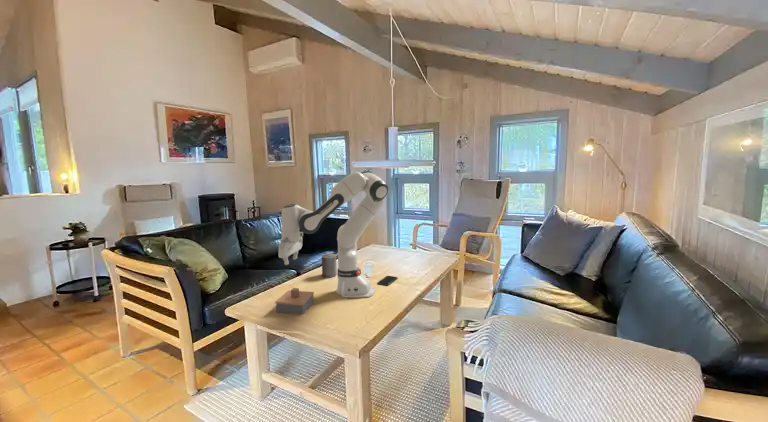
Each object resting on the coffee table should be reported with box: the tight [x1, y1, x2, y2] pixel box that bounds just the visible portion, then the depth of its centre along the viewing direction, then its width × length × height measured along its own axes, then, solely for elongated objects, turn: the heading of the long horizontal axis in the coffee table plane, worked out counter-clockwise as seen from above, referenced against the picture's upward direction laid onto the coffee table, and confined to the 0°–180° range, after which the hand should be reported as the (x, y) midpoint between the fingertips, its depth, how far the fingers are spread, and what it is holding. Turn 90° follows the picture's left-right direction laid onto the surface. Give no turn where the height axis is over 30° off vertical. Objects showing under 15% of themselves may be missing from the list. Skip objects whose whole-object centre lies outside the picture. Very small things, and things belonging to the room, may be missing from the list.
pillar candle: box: [321, 253, 338, 279], centre depth 222 cm, size 10×10×15 cm
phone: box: [376, 275, 398, 287], centre depth 212 cm, size 8×1×15 cm
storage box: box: [275, 294, 315, 315], centre depth 173 cm, size 14×14×6 cm
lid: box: [274, 287, 315, 305], centre depth 173 cm, size 15×15×5 cm
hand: (290, 261), depth 173 cm, fingers open, 8 cm apart
